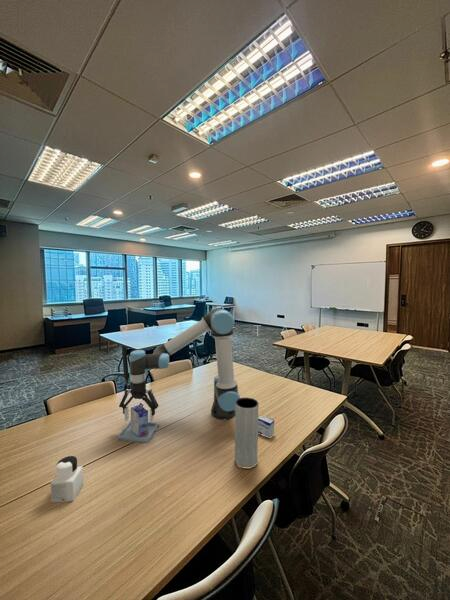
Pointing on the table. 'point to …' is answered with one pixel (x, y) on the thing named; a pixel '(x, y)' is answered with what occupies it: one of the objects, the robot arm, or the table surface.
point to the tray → (131, 436)
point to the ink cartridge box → (139, 420)
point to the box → (265, 426)
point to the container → (66, 480)
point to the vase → (246, 432)
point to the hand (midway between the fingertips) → (139, 420)
